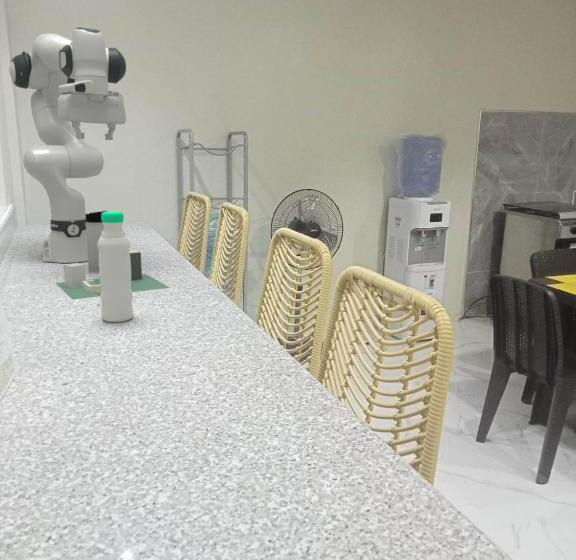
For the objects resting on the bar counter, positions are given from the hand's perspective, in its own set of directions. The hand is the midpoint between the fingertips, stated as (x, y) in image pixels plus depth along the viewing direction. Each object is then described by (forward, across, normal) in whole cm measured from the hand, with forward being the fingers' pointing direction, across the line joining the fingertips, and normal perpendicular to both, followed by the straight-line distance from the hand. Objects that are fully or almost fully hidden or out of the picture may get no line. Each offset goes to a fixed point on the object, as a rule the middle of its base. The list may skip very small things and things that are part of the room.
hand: (95, 139), depth 163 cm
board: (+41, +6, +13) cm, 43 cm away
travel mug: (+41, -2, -5) cm, 41 cm away
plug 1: (+40, +13, +6) cm, 42 cm away
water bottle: (+42, +22, +37) cm, 60 cm away
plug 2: (+40, -2, +10) cm, 41 cm away
